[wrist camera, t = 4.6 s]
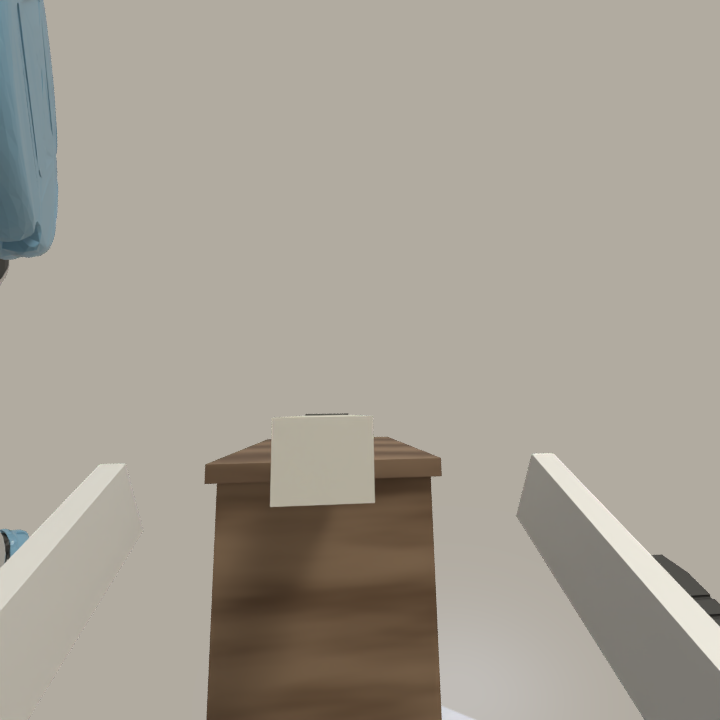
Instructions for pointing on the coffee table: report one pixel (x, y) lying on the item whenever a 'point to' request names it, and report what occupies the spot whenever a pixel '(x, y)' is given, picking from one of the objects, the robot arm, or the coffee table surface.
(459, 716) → the coffee table surface
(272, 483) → the off-white matte box
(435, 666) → the plinth
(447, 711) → the coffee table surface
